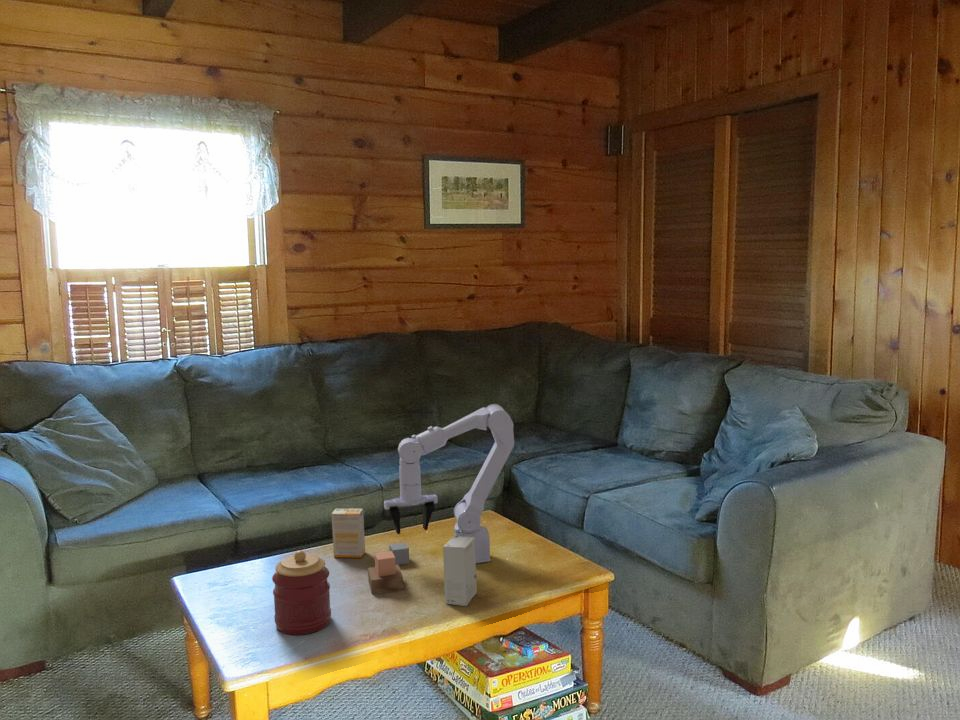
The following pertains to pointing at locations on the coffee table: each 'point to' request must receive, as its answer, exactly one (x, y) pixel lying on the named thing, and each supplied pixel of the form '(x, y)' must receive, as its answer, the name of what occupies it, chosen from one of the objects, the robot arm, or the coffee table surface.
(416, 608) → the coffee table surface
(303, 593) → the canister
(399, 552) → the slate grey cube
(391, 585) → the walnut block
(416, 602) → the coffee table surface
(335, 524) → the supplement box
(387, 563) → the terracotta cube
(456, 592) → the skincare box
